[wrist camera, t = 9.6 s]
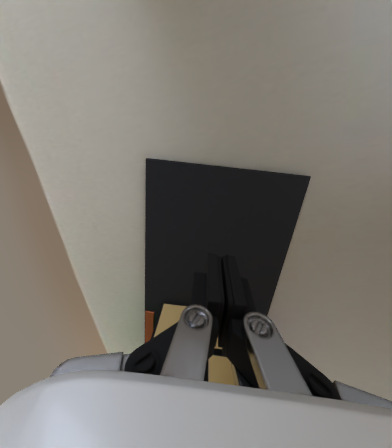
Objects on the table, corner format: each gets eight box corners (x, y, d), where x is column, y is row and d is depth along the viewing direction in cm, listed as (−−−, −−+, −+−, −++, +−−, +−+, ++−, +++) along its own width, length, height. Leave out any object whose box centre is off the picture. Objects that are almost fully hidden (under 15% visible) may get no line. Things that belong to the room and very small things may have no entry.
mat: (147, 158, 16) (144, 158, 15) (308, 176, 15) (312, 176, 15) (145, 368, 26) (144, 372, 25) (244, 382, 25) (245, 387, 25)
